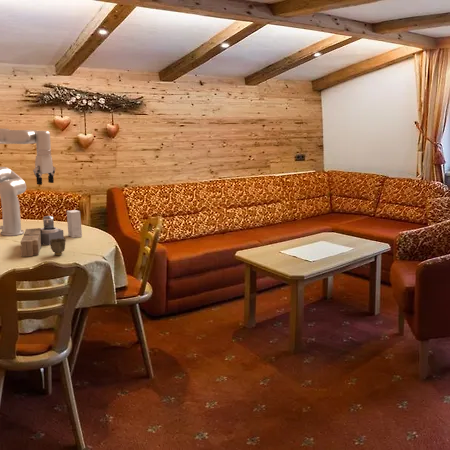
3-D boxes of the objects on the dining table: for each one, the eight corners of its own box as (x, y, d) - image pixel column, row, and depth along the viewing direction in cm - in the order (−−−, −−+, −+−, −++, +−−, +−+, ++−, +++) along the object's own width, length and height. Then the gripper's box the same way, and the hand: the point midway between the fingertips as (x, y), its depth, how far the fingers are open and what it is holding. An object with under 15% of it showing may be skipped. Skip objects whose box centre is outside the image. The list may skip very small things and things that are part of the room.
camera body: (35, 243, 273) (34, 230, 271) (50, 239, 284) (49, 226, 282) (49, 245, 270) (48, 231, 268) (63, 240, 281) (63, 227, 279)
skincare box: (82, 237, 290) (81, 211, 288) (71, 238, 287) (70, 212, 284) (77, 234, 297) (76, 209, 294) (67, 235, 294) (66, 210, 291)
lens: (44, 230, 278) (44, 215, 276) (54, 230, 278) (54, 215, 277) (42, 232, 272) (42, 217, 270) (53, 232, 273) (52, 217, 271)
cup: (52, 253, 253) (51, 237, 252) (67, 253, 254) (67, 237, 252) (48, 257, 246) (48, 241, 244) (64, 257, 247) (63, 241, 245)
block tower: (38, 257, 247) (42, 242, 275) (37, 240, 246) (41, 227, 273) (21, 258, 245) (26, 242, 273) (20, 241, 243) (25, 227, 271)
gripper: (48, 152, 291) (50, 181, 295) (27, 153, 275) (29, 184, 279) (59, 152, 289) (60, 182, 292) (38, 154, 273) (40, 185, 276)
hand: (45, 183), depth 285 cm, fingers open, 9 cm apart
